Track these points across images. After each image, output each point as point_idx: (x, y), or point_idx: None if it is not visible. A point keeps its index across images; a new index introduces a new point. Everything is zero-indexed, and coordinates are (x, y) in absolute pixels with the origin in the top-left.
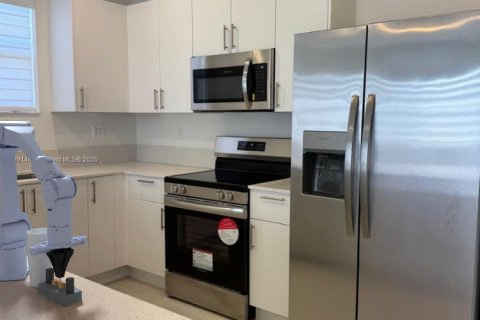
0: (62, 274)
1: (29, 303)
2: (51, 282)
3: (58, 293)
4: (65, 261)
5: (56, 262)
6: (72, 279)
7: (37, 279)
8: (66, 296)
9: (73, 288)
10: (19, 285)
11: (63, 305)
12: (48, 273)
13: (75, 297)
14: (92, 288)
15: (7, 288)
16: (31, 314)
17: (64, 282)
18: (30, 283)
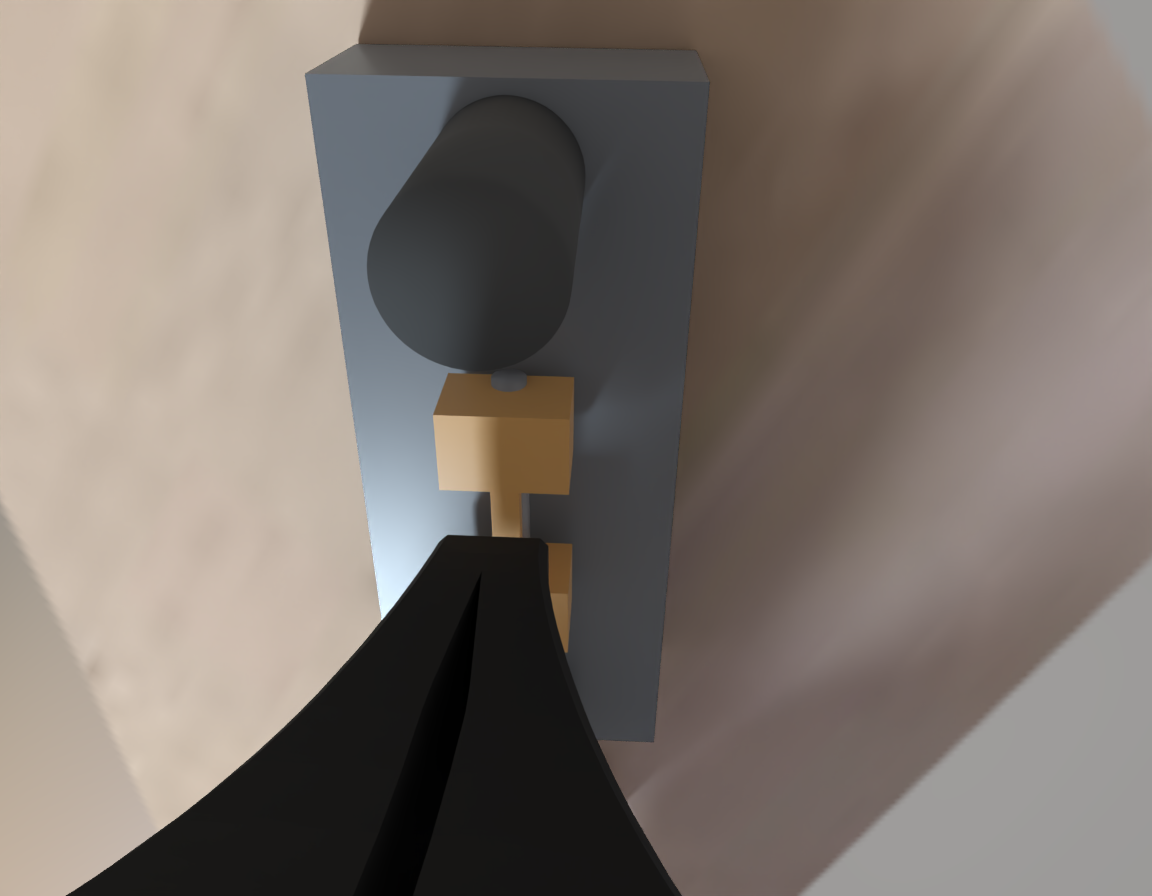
0: (479, 567)
1: (896, 490)
2: None
3: (675, 280)
4: (359, 780)
5: (638, 839)
6: (454, 173)
7: None
8: (638, 80)
9: (462, 120)
10: None
11: (694, 50)
12: None
13: (459, 62)
14: (51, 314)
15: (779, 886)
16: (1137, 175)
17: (479, 440)
18: None
